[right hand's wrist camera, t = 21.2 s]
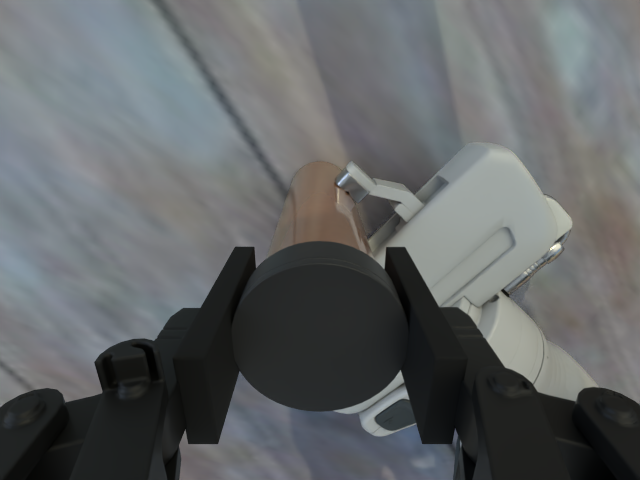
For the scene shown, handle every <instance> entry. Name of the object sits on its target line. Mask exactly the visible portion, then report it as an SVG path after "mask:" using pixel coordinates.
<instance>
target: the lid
mask: <svg viewBox="0 0 640 480" xmlns="http://www.w3.org/2000/svg"><path fill="white" fill-rule="evenodd" d="M231 333H232V342H233V351H234V359H235V362H236V364H237V366H238V368H239V370H240V372H241V373H242V375H243V376H244V377H245V379H246V380H247V381H248V382H249V383H250V384H251V385H252V386H253V387H254V388H255V389H256V390H258V391H259V392H260V393H261V394H263V395H265V396H266V397H268V398H269V399H271V400H273V401H275V402H277V403H280V404H282V405H285V406H288V407H291V408H295V409H299V410H306V411H334V410H341V409H345V408H349V407H352V406H355V405H358V404H360V403H363V402H365V401H367V400H369V399H371V398H372V397H374V396H375V395H377V394H379V393H380V392H381V391H382V390H384V389H385V388H386V387H387V386H388V385H389V384H390V383H391V382H392V381H393V380H394V379H395V377H396V376H397V374H398V373H399V372H400V370H401V368H402V366H403V364H404V362H405V359H406V355H407V346H408V337H409V324H408V321H407V317H406V314H405V311H404V309H403V306H402V304H401V301H400V299H399V296H398V294H397V291H396V288H395V286H394V284H393V282H392V280H391V278H390V277H389V275H388V274H387V272H386V271H385V270H384V269H383V267H382V266H381V265H380V264H379V263H378V262H377V261H375V260H374V259H373V258H372V257H370V256H369V255H367V254H366V253H364V252H362V251H360V250H358V249H356V248H354V247H351V246H348V245H345V244H341V243H336V242H329V241H310V242H304V243H298V244H295V245H292V246H289V247H286V248H284V249H282V250H280V251H277V252H276V253H274V254H273V255H271V256H270V257H268V258H267V259H266V260H265V261H263V262H262V263H261V264H260V265H259V266H258V267H257V268H256V270H255V271H254V272H253V274H252V275H251V276H250V278H249V280H248V282H247V284H246V286H245V288H244V291H243V293H242V296H241V298H240V301H239V303H238V306H237V309H236V311H235V313H234V317H233V320H232V323H231Z"/></svg>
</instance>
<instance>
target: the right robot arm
mask: <svg viewBox="0 0 640 480" xmlns="http://www.w3.org/2000/svg"><path fill="white" fill-rule="evenodd" d="M255 270H256V264H255V250H254V247H235V248H234V250H233V252H232V253H231V255H230V257H229V259H228V261H227V262H226V264H225V266H224V268H223V269H222V271H221V273H220V275H219V276H218V278H217V280H216V282H215V283H214V285H213V287H212V289H211V291H210V292H209V294H208V296H207V298H206V299H205V301H204V303H203V305H202V306H201V308H183V309H181V310H180V311H178V312H177V313H176V314H174V315H173V316H172V317H170V319H169V320H168V322H167V323H166V325H165V326H164V328H163V330H162V331H161V332H160V333H159V335H158V336H157V339H155V341H152V340H148V339H132V340H128V341H124V342H121V343H118V344H116V345H114V346H112V347H110V348H108V349H107V350H106V351H104V352H103V353H102V354H100V355H99V357H98V358H97V359H96V361H95V362H94V363H95V366H96V370H97V373H98V377H99V380H100V384H101V387H102V391H103V392H102V394H99V395H95V396H92V397H87V398H83V399H79V400H75V401H70V402H66V403H65V400H64V397H63V395H62V394H61V393H60V392H59V391H58V390H56V389H49V388H45V389H38V390H33V391H30V392H28V393H25V394H22V395H19V396H18V397H16V398H14V399H12V400H10V401H8V402H7V403H5V404H4V405H3V406H2V407H0V480H179V476H180V466H181V455H180V449H179V443H180V441H181V438H182V436H183V434H184V431H185V429H186V434H187V439H188V444H218V442H219V439H220V435H221V432H222V428H223V425H224V422H225V418H226V415H227V411H228V408H229V405H230V401H231V398H232V394H233V391H234V388H235V384H236V381H237V377H238V374H239V371H240V370H239V368H238V366H237V364H236V362H235V359H234V351H233V342H232V333H231V323H232V320H233V317H234V313H235V311H236V309H237V306H238V303H239V301H240V298H241V296H242V293H243V291H244V288H245V286H246V284H247V282H248V280H249V278H250V276H251V275H252V274H253V272H254V271H255ZM384 270H385V271H386V272H387V274H388V275H389V277H390V278H391V280H392V282H393V284H394V286H395V288H396V291H397V294H398V296H399V299H400V301H401V304H402V306H403V309H404V311H405V314H406V317H407V321H408V324H409V337H408V346H407V355H406V359H405V362H404V364H403V366H402V368H401V373H402V376H403V380H404V383H405V387H406V390H407V393H408V397H409V400H410V404H411V407H412V410H413V414H414V417H415V420H416V424H417V427H418V431H419V434H420V437H421V441H422V444H452V441H453V436H454V430H455V428H456V431H457V433H458V436H459V438H460V441H461V443H462V444H461V449H460V454H459V459H458V464H457V469H456V474H455V480H460V476H461V480H640V405H639V404H638V403H636V402H635V401H633V400H632V399H630V398H628V397H626V396H624V395H622V394H620V393H618V392H615V391H612V390H609V389H605V388H599V387H589V388H584V389H583V390H581V391H580V392H579V393H578V396H577V399H576V401H572V400H568V399H563V398H559V397H555V396H550V395H547V394H543V393H540V392H537V390H536V388H535V387H534V385H533V384H532V382H530V381H529V380H528V379H527V378H526V377H524V376H523V375H521V374H520V373H518V372H516V371H514V370H512V369H508V368H505V366H504V365H503V364H502V362H501V361H500V359H499V358H498V356H497V355H496V353H495V352H494V350H493V349H492V347H491V346H490V345H489V343H488V342H487V340H486V339H485V338H483V334H482V333H481V331H480V330H479V329H477V326H476V324H475V323H474V321H473V320H472V318H471V317H470V316H469V315H468V314H466V313H465V312H464V311H462V310H461V309H459V308H458V307H439V306H438V304H437V302H436V301H435V299H434V297H433V295H432V293H431V292H430V290H429V288H428V286H427V285H426V283H425V281H424V279H423V278H422V276H421V274H420V272H419V271H418V269H417V267H416V265H415V263H414V262H413V260H412V258H411V256H410V255H409V253H408V251H407V249H406V248H405V247H386V255H385V268H384Z"/></svg>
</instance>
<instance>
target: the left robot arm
mask: <svg viewBox="0 0 640 480" xmlns="http://www.w3.org/2000/svg"><path fill="white" fill-rule="evenodd" d="M335 180H336V181H335V182H336V184H337V185H338V186H339V187H340V188H341V189H342V190H344V191H346V192H349V195H350V197H351V198H352V199H353V200H354V201H355V202H357V203H359V202H360V201H361V200H362V199H363V198H364V197H365V196H366V195H367V194H368V195H373V196H377V197H381V198H386V199H389V203H390V204H391V206H392V207H393V209H394V210H395V211H396V213H395V214H394V215H393V216H392V217H391V218H390V219H389V220H388V221H387V222H386V223H385V224H384V225H383V226H382V227H381V228H380V229H378V230H377V231H376V232H375V233H374V234H373V235H372V236H371V237H370V238H369V239H368V242H369V245H370V248H371V251H372V254H373V257H374V260H375V261H377V262H378V263H379V264H380V265H381V266H382V267H383V269H384V268H385V255H386V247H405V248H406V249H407V251H408V253H409V255H410V256H411V258H412V260H413V262H414V263H415V265H416V267H417V269H418V271H419V272H420V274H421V276H422V278H423V279H424V281H425V283H426V285H427V286H428V288H429V290H430V292H431V293H432V295H433V297H434V299H435V301H436V302H437V304H438V306H439V307H458V308H459V309H461V310H462V311H464V312H465V313H466V314H468V315H469V316H470V317H471V318H472V320H473V321H474V323H475V324H476V326H477V329H479V330H480V331H481V333H482V334H483V338H485V339H486V340H487V342H488V343H489V345H490V346H491V347H492V349H493V350H494V352H495V353H496V355H497V356H498V358H499V359H500V361H501V362H502V364H503V365H504V366H505V368H508V369H512V370H514V371H516V372H518V373H520V374H521V375H523V376H524V377H526V378H527V379H528V380H529V381H530V382H532V384H533V385H534V387H535V388H536V390H537V392H540V393H543V394H547V395H550V396H555V397H559V398H563V399H568V400H572V401H576V399H577V396H578V393H579V392H580V391H581V390H583V389H584V388H589V387H599V386H598V385H597V384H596V383H595V381H594V380H593V379H592V378H591V377H590V376H589V375H588V374H587V372H586V371H585V370H584V369H583V368H582V367H581V366H580V365H579V364H578V363H577V362H576V361H575V360H574V359H573V358H572V357H571V356H570V355H569V354H568V353H566V352H565V351H564V350H563V349H562V348H560V347H559V346H557V345H555V344H554V343H552V342H550V341H547V340H546V338H545V336H544V334H543V332H542V331H541V329H540V328H539V327H538V325H537V324H536V323H535V322H534V321H533V320H532V319H531V318H530V317H529V316H528V315H527V314H526V313H525V312H524V311H523V310H522V309H521V308H520V307H519V306H518V305H517V304H516V303H515V302H514V301H513V300H511V299H510V298H509V295H510V294H512V293H513V292H514V291H515V290H517V289H518V288H519V287H521V286H522V285H523V284H524V283H526V282H527V281H528V280H529V279H530V278H531V277H532V276H533V275H534V273H536V272H537V270H539V269H541V267H543V266H544V265H546V264H547V263H548V264H549V263H550V262H552V261H553V260H555V259H556V258H557V257H558V256H559V255H560V254H561V253H562V252H563V251H564V247H563V246H562V245H563V244H564V242H565V241H566V240H567V238H568V236H569V234H570V231H571V228H572V225H573V224H572V220H571V218H570V216H569V215H568V213H567V212H566V211H565V210H564V209H563V207H562V206H561V205H560V204H559V203H558V202H557V201H556V200H555V199H554V198H553V197H551V196H549V195H546V194H543V193H542V191H541V190H540V188H539V186H538V185H537V183H536V182H535V180H534V179H533V177H532V176H531V174H530V173H529V172H528V170H527V169H526V167H525V166H524V165H523V163H522V162H521V161H520V160H519V158H518V157H517V156H516V155H515V154H514V153H513V152H512V151H511V150H509V149H508V148H506V147H504V146H501V145H498V144H495V143H488V142H471V143H468V144H467V145H465V146H464V147H463V148H462V149H461V150H460V151H459V152H458V153H457V154H456V155H455V156H454V157H453V158H452V159H451V160H450V161H449V162H448V163H447V164H446V165H444V166H443V167H442V168H441V169H440V170H439V171H438V172H437V173H436V174H435V175H434V176H433V177H432V178H431V179H430V180H429V181H428V182H427V183H426V184H425V185H424V186H423V187H422V188H421V189H420V190H419V191H418V192H417V193H416V194H415V195H414V194H413V193H412V192H411V191H410V190H409V189H407V188H406V187H405V186H404V185H403V184H400V183H395V182H391V181H386V180H381V179H376V178H373V179H371V178H370V177H369V176H368V175H367V174H366V173H365V172H364V171H362V170H361V169H360V168H359V167H358V166H357V165H356V164H355V163H354V162H352V161H351V162H350V163H349V164H348V165H347V166H346V167H345V168H344V169H343V170H342V171H341V172H340V174H339V175H338V176H337V177H336V178H335ZM557 239H558V240H557ZM556 240H557V241H556ZM639 405H640V403H639ZM334 411H335V412H338V413H344V414H353V413H358V414H359V418H360V422H361V425H362V427H363V428H364V429H365V430H366V431H367V432H369V433H370V434H372V435H374V436H377V437H382V436H386V435H389V434H392V433H395V432H397V431H400V430H402V429H405V428H407V427H410V426H413V425H416V420H415V417H414V414H413V410H412V407H411V404H410V400H409V397H408V393H407V390H406V387H405V383H404V380H403V376H402V373H401V370H400V372H399V373H398V374H397V376H396V377H395V379H394V380H393V381H392V382H391V383H390V384H389V385H388V386H387V387H386V388H385V389H384V390H382V391H381V392H380V393H379V394H377V395H375V396H374V397H372V398H371V399H369V400H367V401H365V402H363V403H360V404H358V405H355V406H352V407H349V408H345V409H341V410H334ZM461 444H462V443H461V441H460V438H459V436H458V439H457V444H456V452H455V464H454V475H453V480H455V474H456V469H457V464H458V459H459V454H460V449H461ZM460 480H461V476H460Z"/></svg>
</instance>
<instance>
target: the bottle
mask: <svg viewBox="0 0 640 480" xmlns="http://www.w3.org/2000/svg"><path fill="white" fill-rule="evenodd" d="M340 172H341V170H340V169H339V168H338V167H337V166H335V165H333V164H331V163H328V162H312V163H309V164H307V165H305V166H303V167H302V168H301V169H300V170H299V171H298V172H297V173H296V174H295V176H294V178H293V180H292V182H291V185H290V188H289V191H288V194H287V197H286V200H285V203H284V206H283V209H282V212H281V215H280V218H279V221H278V224H277V227H276V230H275V233H274V236H273V239H272V242H271V245H270V248H269V251H268V254H267V257H266V259H267V258H268V257H270V256H271V255H273V254H274V253H276V252H277V251H280V250H282V249H284V248H286V247H289V246H292V245H295V244H298V243H304V242H310V241H329V242H336V243H341V244H345V245H348V246H351V247H354V248H356V249H358V250H360V251H362V252H364V253H366V254H367V255H369V256H370V257H372V258H373V259H374V257H373V254H372V251H371V248H370V245H369V242H368V239H367V236H366V233H365V230H364V227H363V224H362V221H361V218H360V215H359V212H358V209H357V206H356V203H355V201H354V200H353V199H352V198H351V197H350V195H349V192H346V191H344V190H342V189H341V188H340V187H339V186H338V185H337V184H336V182H335V181H336V180H335V178H336V177H337V176H338V175H339V174H340Z"/></svg>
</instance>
